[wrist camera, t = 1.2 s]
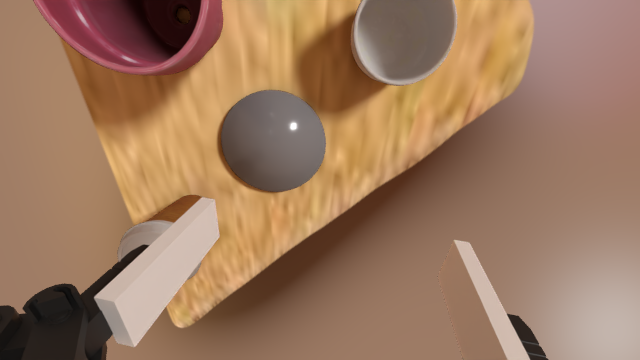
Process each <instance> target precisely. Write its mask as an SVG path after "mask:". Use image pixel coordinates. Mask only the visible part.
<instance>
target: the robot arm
mask: <svg viewBox="0 0 640 360" xmlns="http://www.w3.org/2000/svg"><path fill="white" fill-rule="evenodd" d="M219 237H220V236H219V228H218V221H217V213H216V205H215V199H210V198H204V197H202V198H201V199H200V200H199V201H197V202H196V203H195V204H194V205H193V206H192V207H191V208H190V209H189V210H188V211H187V212H186V213H184V214H183V215H182V216H181V217H180V218H179V219H178V220H177V221H176V222H175V223H174V224H173V225H171V226H170V227H169V228H168V229H167V230H166V231H165V232H164V233H163V234H162V235H161V236H160V237H159V238H157V239H156V240H155V241H154V242H153V243H152V244H151V245H145V244H143V245H141V246H139V247H137V248H135V249H134V250H132V251H130V252H129V253H128V254H127V255H126V256H124V257H123V258H122V259H121V261H120V262H118V263H116V264H115V265H114V266H113V267H112V269H110V270H108V271H107V272H106V273H105V274H104V275H103V276H102V277H100V278H99V279H98V280H97V281H96V282H95V283H93V284H92V285H91V286H90V287H89V288H88V289H87V290H85V291H84V292H83V293H82V294H81V295H80V294H79V292H78V291H77V289H76V287H75V286H73V285H72V284H59V285H54V286H52V287H49V288H46V289H44V290H42V291H41V292H39V293H37V294H35V295H34V296H33V297H32V298H31V299H29V300H28V301H27V302H26V304H25V305H24V307H23V310H24V311H25V312H26V314H18V313H17V311H16V310H15V309H14V308H13V307H11V306H0V360H106V354H107V345H106V341H107V340H108V339H109V338H110V337H111V335H113V336H114V338H115V340H116V342H117V343H119V344H124V345H128V346H132V347H135V346H136V345H137V344H138V342H139V341H140V340H141V338H142V337H143V336H144V334H145V333H146V332H147V331H148V329H149V328H150V327H151V325H152V324H153V323H154V321H155V320H156V319H157V318H158V316H159V315H160V314H161V312H162V311H163V310H164V308H165V307H166V306H167V304H168V303H169V302H170V301H171V299H172V298H173V297H174V295H175V294H176V293H177V291H178V290H179V289H180V288H181V286H182V285H183V284H184V282H185V281H186V280H187V278H188V277H189V276H190V275H191V273H192V272H193V271H194V269H195V268H196V267H197V265H198V264H199V263H200V261H201V260H202V259H203V258H204V256H205V255H206V254H207V252H208V251H209V250H210V248H211V247H212V246H213V245H214V243H215V242H216V241H217V239H218V238H219ZM438 280H439V283H440V287H441V290H442V293H443V296H444V300H445V303H446V306H447V310H448V313H449V316H450V319H451V323H452V326H453V329H454V332H455V335H456V339H457V342H458V345H459V348H460V352H461V355H462V359H463V360H548V359H547V358H546V355H545V353H544V351H543V350H542V348H541V347H540V346H539V343H538V341H537V339H536V338H535V336H534V334H533V332H532V331H531V329H530V328H529V327H528V326H527V325H526V324H525V323H524V322H523V321H522V319H521V318H520V317H519V316H515V315H510V314H506V312H505V310H504V308H503V307H502V305H501V303H500V301H499V299H498V297H497V295H496V293H495V291H494V289H493V287H492V285H491V283H490V281H489V280H488V278H487V276H486V274H485V272H484V270H483V268H482V266H481V264H480V262H479V260H478V259H477V256H476V255H475V253H474V251H473V249H472V247H471V245H470V243H469V242H463V241H457V240H454V241H453V243H452V245H451V247H450V250H449V252H448V254H447V256H446V259H445V261H444V263H443V265H442V268H441V270H440V273H439V275H438Z"/></svg>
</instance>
